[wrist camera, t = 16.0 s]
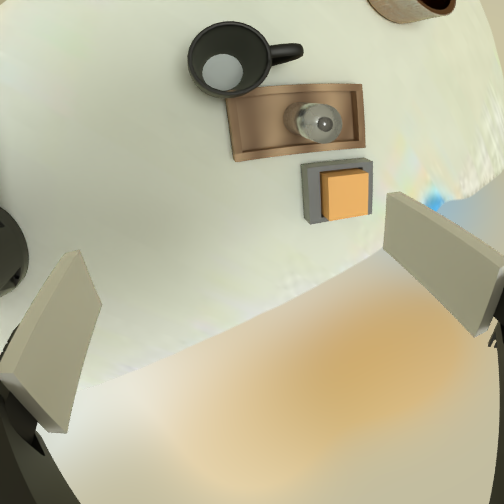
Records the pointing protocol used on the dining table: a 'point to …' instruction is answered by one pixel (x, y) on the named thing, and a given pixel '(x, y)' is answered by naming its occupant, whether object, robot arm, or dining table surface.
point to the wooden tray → (272, 126)
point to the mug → (238, 55)
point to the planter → (413, 9)
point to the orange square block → (344, 193)
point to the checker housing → (313, 184)
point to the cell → (313, 121)
